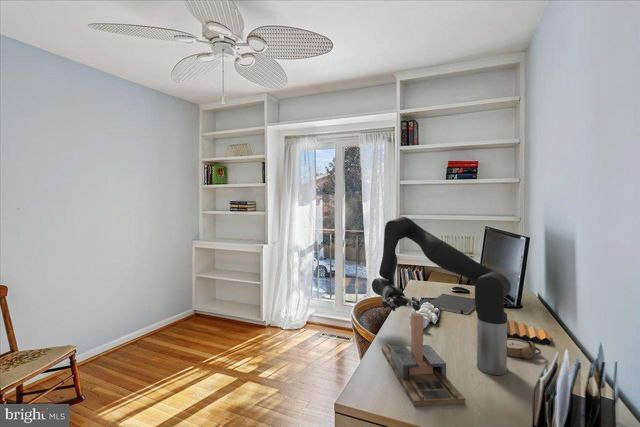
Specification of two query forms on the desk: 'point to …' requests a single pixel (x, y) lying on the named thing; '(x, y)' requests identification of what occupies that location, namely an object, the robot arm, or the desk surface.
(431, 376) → the track board
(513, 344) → the alarm clock
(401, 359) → the tunnel
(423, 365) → the pink post on block
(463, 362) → the desk surface
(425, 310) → the figure
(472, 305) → the notebook
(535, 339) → the orange corrugated panel
